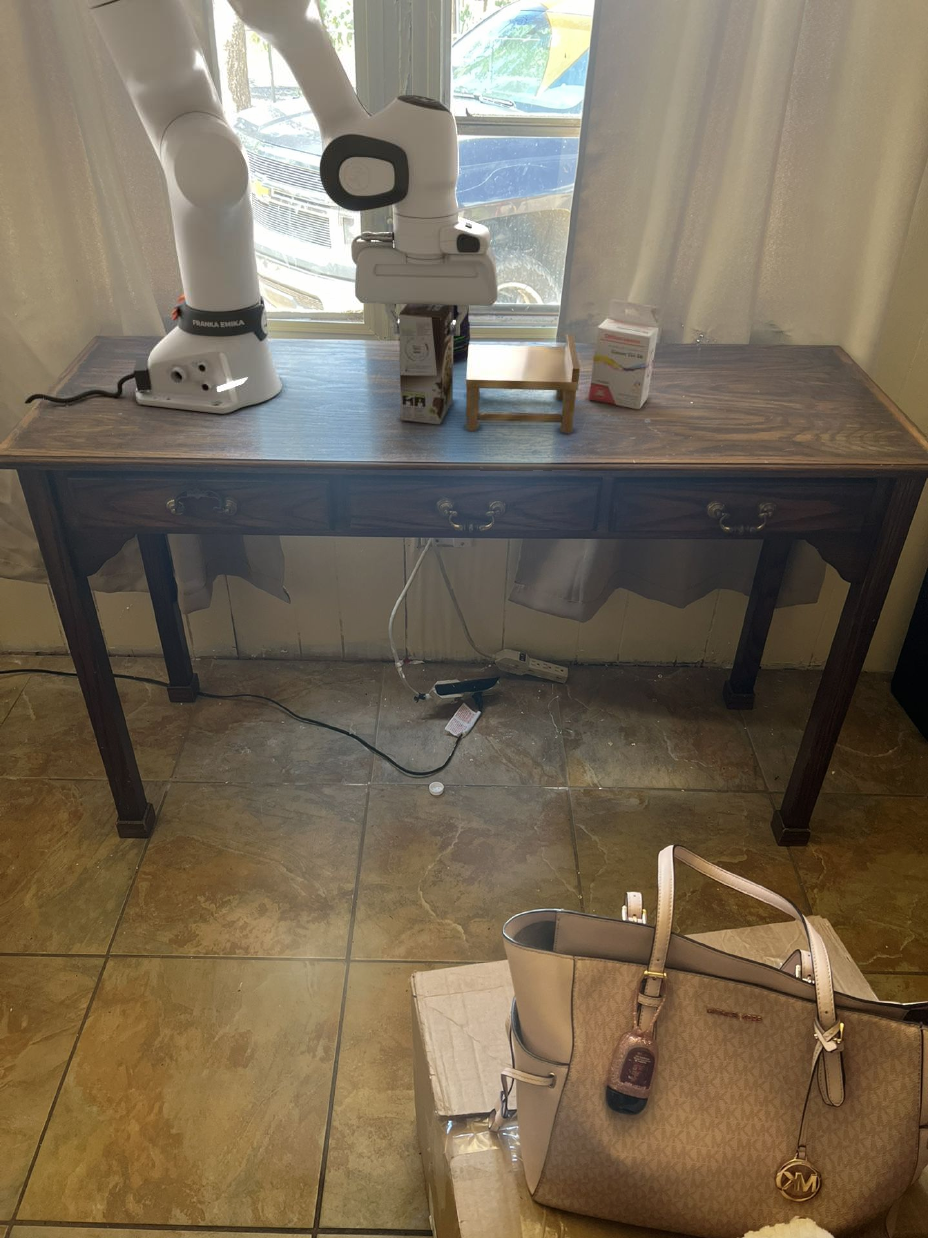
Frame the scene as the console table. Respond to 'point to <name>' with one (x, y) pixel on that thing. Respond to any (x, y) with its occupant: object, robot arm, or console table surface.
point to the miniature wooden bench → (522, 379)
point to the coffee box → (425, 362)
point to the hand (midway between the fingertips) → (427, 333)
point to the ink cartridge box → (624, 355)
